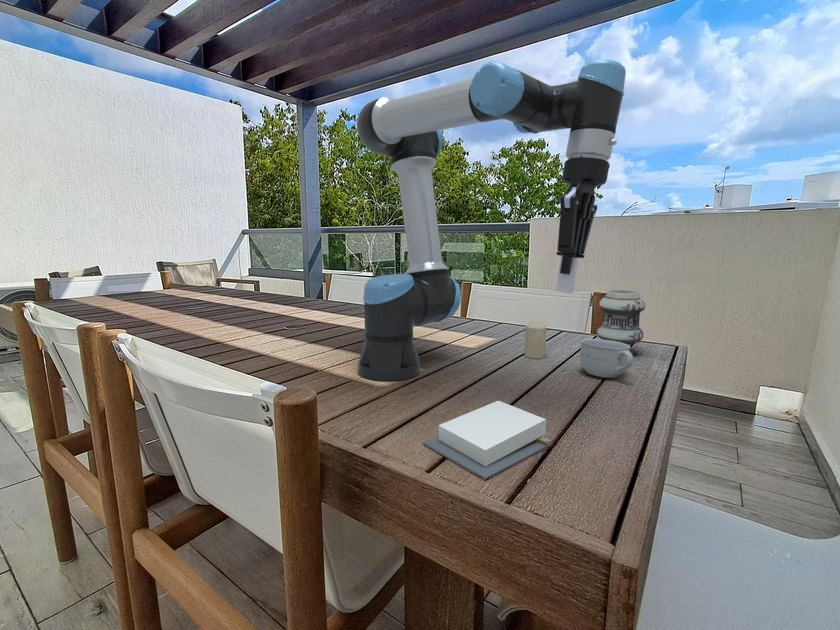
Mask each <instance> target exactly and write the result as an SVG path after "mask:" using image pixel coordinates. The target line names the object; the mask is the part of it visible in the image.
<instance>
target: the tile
mask: <svg viewBox="0 0 840 630" xmlns="http://www.w3.org/2000/svg"><path fill="white" fill-rule="evenodd" d="M437 429H438V436H439V440H440V441H442V442H443V443H445V444H447V445H449V446H450V447H452V448H454V449H456V450H457V451H459V452H461V453H463V454H464V455H466V456H468V457H470V458H471V459H473V460H475V461H477V462H478V463H480V464H482V465H484V466H487V465H489V464H491V463H493V462H495V461H497V460H498V459H500V458H502V457H504V456H506V455H508V454H509V453H511V452H513V451H515V450H517V449H519V448H521V447H522V446H524V445H526V444H528V443H530V442H532V441H534V440H535V439H537V438H539V437H541V436H542V437H544V436H545V435H546V434H547V419H546V418H544V417H541V416H539V415H536V414H533V413H531V412H528V411H525V410H523V409H521V408H518V407H516V406H513V405H511V404H508V403H506V402H503V401H502V400H497V401H493V402H492V403H488V404H487V405H484V406H481V407H479V408H477V409H475V410H472V411H469V412H468V413H465V414H462V415H459V416H457V417H456V418H455V417H454V418H453V419H450V420H448V421H445V422H444V423H441V424H438V428H437Z"/></svg>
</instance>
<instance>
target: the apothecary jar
mask: <svg viewBox="0 0 840 630" xmlns="http://www.w3.org/2000/svg"><path fill="white" fill-rule="evenodd" d="M640 294H641V293H640V291H639V290H631V289H630V290H629V289H610V290H609V289H608V290H606V293H605V296H603V298H601V300H600V301H599V308H600V309H602V310H603V315H602V324H601V326H599V328H597V330H596V334H597V335H598V338H599V339H601V340H610V341H616V342H621V343H624V344H627V345H629V346H630V345H635V344H637V343H638V342H640V341H642V339H644V332H643V329H642V328H640V317H641V312H643V311H644V310H645V309H646V303H645V301H644V300H642V299H641V296H640ZM629 352H630V353H631V354H632V356H633V357H635V356H637V355H638V352H637V351H636V350H634V349H633V348H631V347H630V350H629Z"/></svg>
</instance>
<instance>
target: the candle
mask: <svg viewBox="0 0 840 630" xmlns="http://www.w3.org/2000/svg"><path fill="white" fill-rule="evenodd" d="M547 327H548V326H546V324H544V322H543V321H536V320H535V321H533V320H530V321H529V322H528V323H527V324H526V325H525V333H524V334H525V335H524V336H525V337H524V355H523V356H524V357H526V358H527V359H532V360H533V359H534V360H540V359H545V356H546V346H547V345H546V344H547V343H546V341H547Z"/></svg>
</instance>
